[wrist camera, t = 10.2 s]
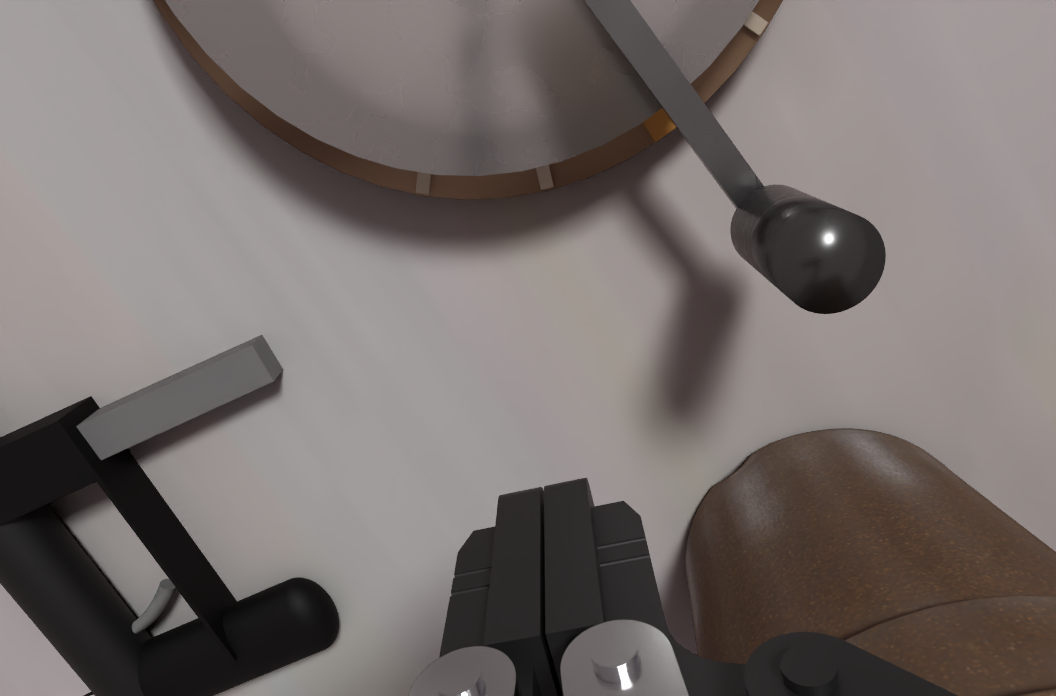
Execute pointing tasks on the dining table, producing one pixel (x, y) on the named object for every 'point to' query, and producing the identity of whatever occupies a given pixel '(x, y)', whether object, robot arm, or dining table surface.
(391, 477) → the dining table surface
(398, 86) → the dial
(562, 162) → the dial base
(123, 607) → the door handle
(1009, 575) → the plant pot
